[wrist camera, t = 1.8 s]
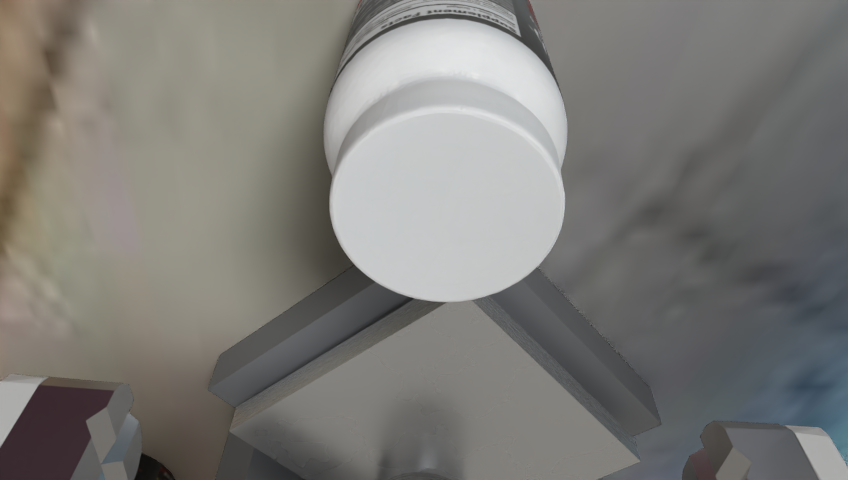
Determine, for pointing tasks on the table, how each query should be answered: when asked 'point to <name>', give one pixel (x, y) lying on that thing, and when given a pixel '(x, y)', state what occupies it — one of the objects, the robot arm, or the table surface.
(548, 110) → the pill bottle
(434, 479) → the spacer
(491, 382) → the scale plate
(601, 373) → the base
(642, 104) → the table surface
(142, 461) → the deodorant
